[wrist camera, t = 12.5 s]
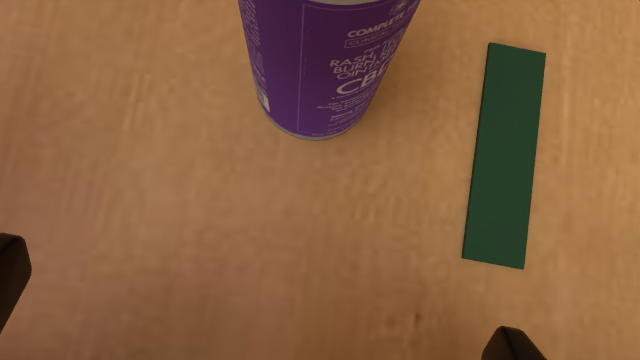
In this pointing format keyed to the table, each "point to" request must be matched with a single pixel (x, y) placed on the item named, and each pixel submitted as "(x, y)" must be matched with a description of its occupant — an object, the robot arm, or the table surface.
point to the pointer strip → (504, 157)
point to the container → (321, 58)
